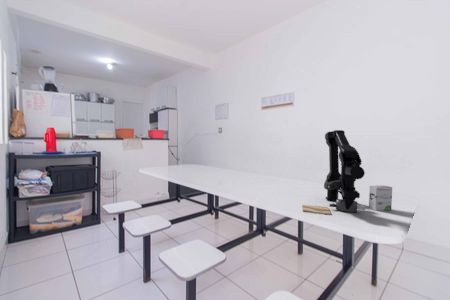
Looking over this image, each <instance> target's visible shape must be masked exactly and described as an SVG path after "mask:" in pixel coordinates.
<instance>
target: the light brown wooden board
mask: <svg viewBox="0 0 450 300" xmlns="http://www.w3.org/2000/svg"><path fill="white" fill-rule="evenodd" d="M301 208H302V212H303V213H312V214H318V215H319V214H321V215H329V216H331V214H332V213H331V211H330V208H329V207H327V206H318V205H311V204H310V205H309V204H302V205H301Z"/></svg>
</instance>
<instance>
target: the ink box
mask: <svg viewBox="0 0 450 300" xmlns="http://www.w3.org/2000/svg"><path fill="white" fill-rule="evenodd" d="M368 195H369V198H368V208H369V209H370V210H373V211H375V212H377V211H378V212H379V211H392V205H393V204H392V203H393V202H392V201H393V200H392V199H393V187H392V186H389V185H369V194H368Z"/></svg>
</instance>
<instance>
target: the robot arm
mask: <svg viewBox="0 0 450 300" xmlns="http://www.w3.org/2000/svg"><path fill="white" fill-rule="evenodd" d="M324 139H325V143H326V145H327V146H328V149H329V150H328V152H329V154H328V156H329V157H328V159H329V172H328V174H327V175H326V179H325V181H324V183H323V188H324V189H325V190H327V191H326V192H327V193H326V197H325V199H326V201H329V202H330V201H331V202H336V199H339V194H340V195H341V198H342V199H343V200H345V206H346V209H349V208H350V206H351V205H352V203H353V202H354V201H356V199H359V198H360V197H361V196H360V195H361V194H360V192H359V191H358V190H356V187H355V182H357V180H361V179H363V178H364V177H365V174H366V173H365V170H364V168H363V167H362V158H361V156H360V153H359V152H358V150H357V149H356V148H355V147H354V146H351V145H350V143H349V141H348V139H347V137H346V132H345V130H341V129H340V130H339V129H335V130H333V131H327V132H326V133H325V135H324ZM339 161H340V165H339ZM339 166H341V170H340V167H339Z"/></svg>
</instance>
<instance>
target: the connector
mask: <svg viewBox="0 0 450 300" xmlns="http://www.w3.org/2000/svg"><path fill="white" fill-rule="evenodd" d="M329 207H331V208H335V210H337V211H340V212H341V211H342V212H350V213H357V212H358V210H360V211H365V210H366V207H365V206H364V205H361V204H358V201H357V200H354V202H353V203H352V205H351V206H350V208H349V209H346V206H345V200H343V199H341V198H338V199H336V201H335V203H329Z"/></svg>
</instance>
